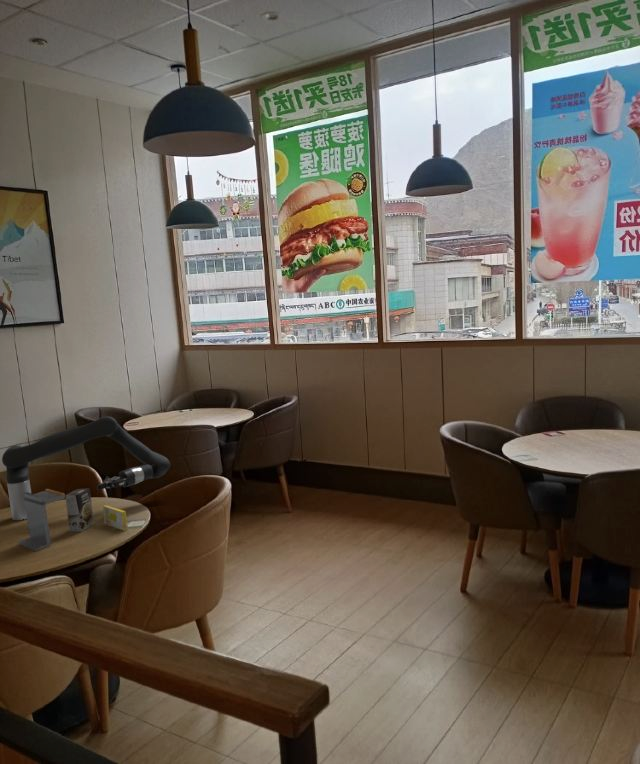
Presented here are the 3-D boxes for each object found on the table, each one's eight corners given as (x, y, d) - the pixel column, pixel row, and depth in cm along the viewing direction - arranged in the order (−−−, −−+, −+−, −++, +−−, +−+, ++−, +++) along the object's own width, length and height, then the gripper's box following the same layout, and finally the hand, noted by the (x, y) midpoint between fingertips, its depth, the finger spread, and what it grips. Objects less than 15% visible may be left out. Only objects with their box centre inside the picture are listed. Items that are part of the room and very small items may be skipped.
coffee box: (82, 531, 259) (78, 494, 257) (69, 531, 260) (64, 494, 258) (94, 523, 268) (90, 488, 266) (81, 523, 269) (77, 488, 267)
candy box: (128, 530, 257) (126, 511, 256) (123, 531, 256) (121, 512, 255) (108, 522, 268) (106, 504, 267) (104, 524, 267) (101, 505, 266)
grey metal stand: (18, 544, 250) (11, 496, 247) (52, 532, 261) (46, 486, 258) (35, 551, 241) (28, 502, 238) (70, 538, 252) (64, 491, 250)
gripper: (121, 467, 286) (87, 477, 273) (138, 470, 278) (104, 481, 264) (123, 482, 287) (90, 494, 274) (141, 486, 279) (107, 498, 265)
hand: (97, 487), depth 269 cm, fingers closed
